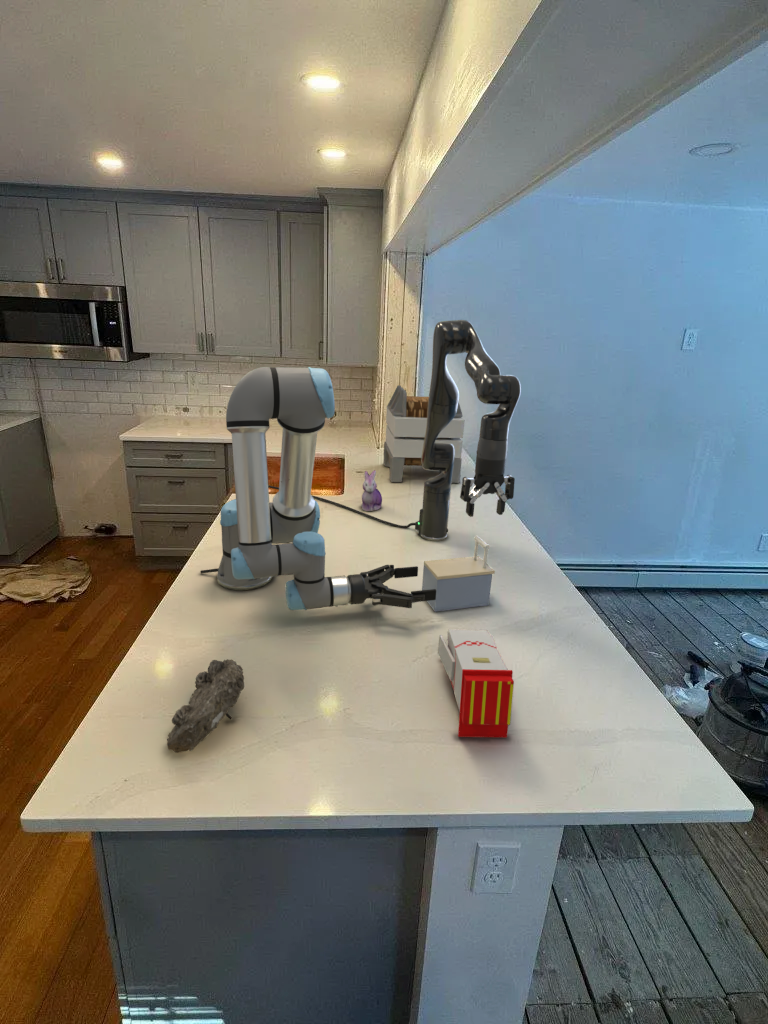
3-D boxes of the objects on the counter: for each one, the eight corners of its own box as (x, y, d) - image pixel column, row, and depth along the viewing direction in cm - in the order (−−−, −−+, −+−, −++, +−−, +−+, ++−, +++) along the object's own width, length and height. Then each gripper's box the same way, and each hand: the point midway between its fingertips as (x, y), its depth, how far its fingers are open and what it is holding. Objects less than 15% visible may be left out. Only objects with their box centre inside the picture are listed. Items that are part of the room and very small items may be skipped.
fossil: (192, 660, 117) (244, 628, 112) (224, 691, 120) (276, 661, 115) (142, 746, 98) (202, 712, 93) (182, 779, 101) (242, 748, 96)
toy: (488, 613, 130) (523, 677, 101) (484, 667, 133) (517, 744, 104) (435, 612, 130) (455, 676, 101) (432, 666, 133) (451, 743, 103)
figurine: (366, 513, 218) (367, 475, 213) (355, 505, 226) (356, 468, 221) (387, 510, 222) (389, 473, 217) (376, 502, 231) (377, 466, 226)
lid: (478, 558, 160) (481, 533, 157) (494, 573, 151) (497, 546, 148) (423, 564, 155) (425, 537, 152) (437, 579, 146) (439, 552, 144)
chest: (473, 588, 163) (476, 559, 160) (488, 605, 154) (492, 574, 151) (421, 594, 158) (423, 564, 155) (434, 611, 149) (437, 580, 146)
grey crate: (382, 463, 289) (386, 382, 275) (445, 464, 293) (451, 384, 279) (390, 482, 257) (394, 392, 243) (460, 483, 261) (468, 394, 247)
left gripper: (337, 581, 156) (409, 574, 162) (359, 628, 134) (442, 618, 140) (337, 556, 154) (411, 550, 160) (360, 600, 131) (445, 591, 137)
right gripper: (472, 459, 139) (466, 521, 144) (523, 457, 143) (515, 518, 148) (459, 452, 145) (454, 511, 151) (509, 450, 150) (502, 508, 155)
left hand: (426, 582), depth 150 cm, fingers open, 13 cm apart
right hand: (484, 514), depth 150 cm, fingers open, 8 cm apart
